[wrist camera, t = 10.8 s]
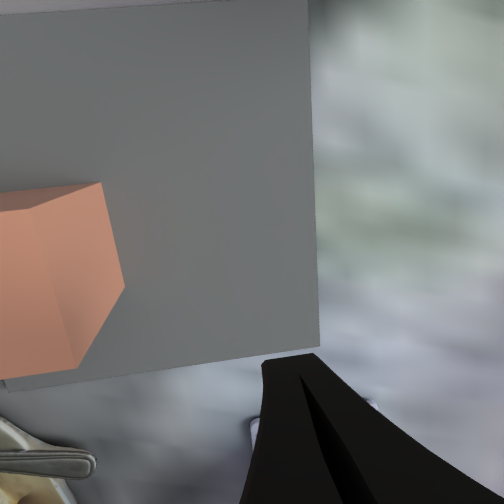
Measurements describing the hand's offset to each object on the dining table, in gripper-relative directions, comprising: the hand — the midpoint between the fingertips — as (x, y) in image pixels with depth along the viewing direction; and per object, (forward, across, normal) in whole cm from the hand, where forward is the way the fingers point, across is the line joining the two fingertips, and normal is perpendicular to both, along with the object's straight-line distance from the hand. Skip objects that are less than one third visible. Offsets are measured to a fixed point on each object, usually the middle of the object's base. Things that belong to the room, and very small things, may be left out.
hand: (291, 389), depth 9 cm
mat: (+10, +5, -3) cm, 11 cm away
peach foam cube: (+10, +9, -2) cm, 13 cm away
